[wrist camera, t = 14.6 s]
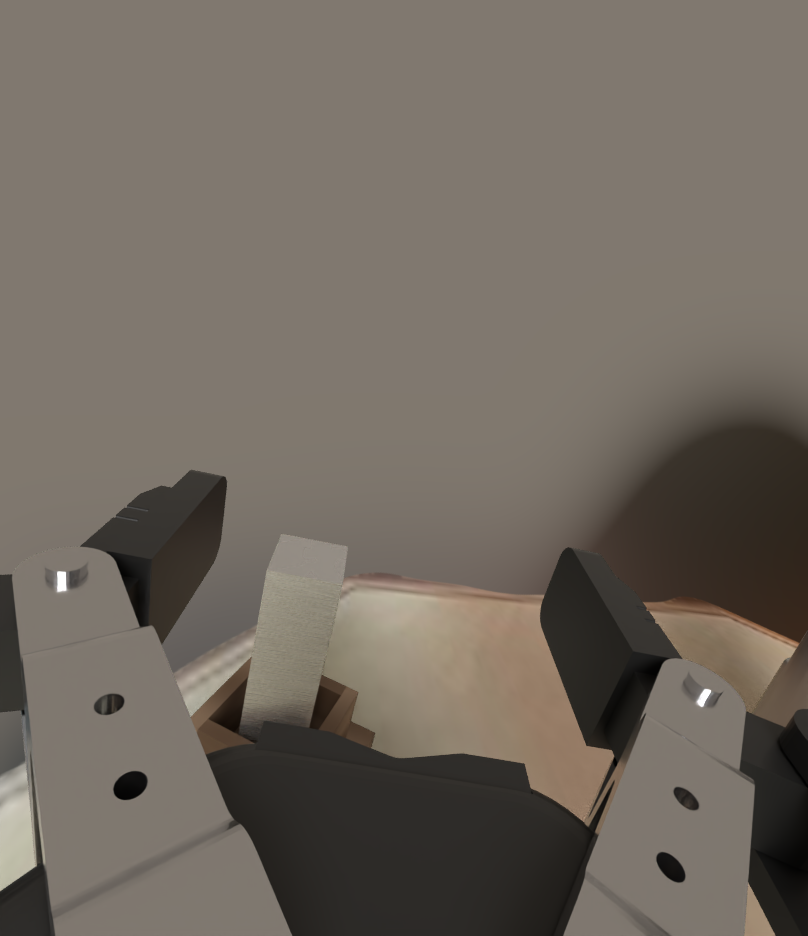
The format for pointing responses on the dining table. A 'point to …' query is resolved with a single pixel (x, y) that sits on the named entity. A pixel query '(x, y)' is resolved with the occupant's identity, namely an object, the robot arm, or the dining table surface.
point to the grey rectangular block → (292, 633)
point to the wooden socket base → (225, 709)
